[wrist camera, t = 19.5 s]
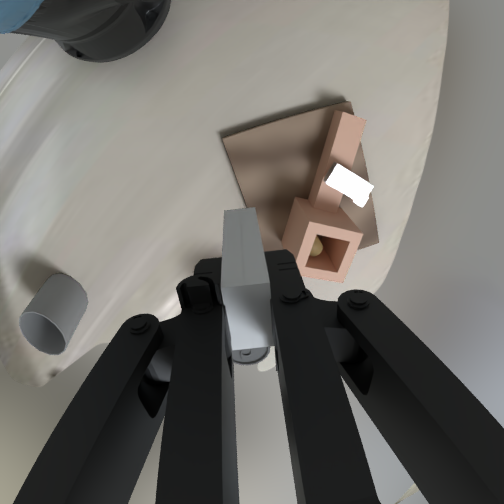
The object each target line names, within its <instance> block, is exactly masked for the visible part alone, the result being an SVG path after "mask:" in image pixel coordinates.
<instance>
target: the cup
mask: <svg viewBox="0 0 504 504" xmlns="http://www.w3.org/2000/svg"><path fill="white" fill-rule="evenodd" d="M87 305H88V299H87V294H86V292H85V290H84V289H83V287H82V286H81V284H80V283H79V282H77V281H76V280H75V279H73V278H72V277H71V276H68V275H64V274H53V275H52V276H51V277H50V278H48V279H47V281H46V282H45V283H44V284H43V286H42V287H41V288H40V290H39V291H38V292H37V294H36V295H35V296H34V298H33V299H32V301H31V302H30V303H29V305H28V306H27V307H26V309H25V310H24V312H23V313H22V315H21V316H20V319H19V327H20V329H21V332H22V334H23V336H24V337H25V338H26V339H27V341H28V342H29V343H30V344H31V345H32V346H34V347H35V348H36V349H38V350H39V351H41V352H44V353H46V354H49V355H60V354H61V353H63V352H64V351H65V350H66V348H67V346H68V344H69V342H70V340H71V338H72V336H73V334H74V332H75V330H76V328H77V326H78V324H79V322H80V320H81V318H82V316H83V314H84V312H85V311H86V308H87Z"/></svg>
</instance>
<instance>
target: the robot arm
mask: <svg viewBox="0 0 504 504" xmlns="http://www.w3.org/2000/svg"><path fill="white" fill-rule="evenodd" d="M170 3H171V0H0V33H1V34H5V33H16V34H24V35H30V36H37V37H43V38H49V39H54V40H55V41H56V42H57V43H58V44H59V45H60V47H61V48H62V49H63V50H64V51H65V52H66V53H68V54H69V55H71V56H73V57H75V58H77V59H80V60H84V61H90V62H109V61H114V60H117V59H121V58H123V57H126V56H128V55H130V54H132V53H133V52H135V51H137V50H138V49H140V48H141V47H142V46H144V45H145V44H146V43H147V42H148V41H149V40H150V39H152V37H153V36H154V35H155V34H156V33H157V32H158V30H159V29H160V27H161V26H162V24H163V23H164V21H165V19H166V17H167V14H168V11H169V8H170ZM176 290H177V294H178V297H179V301H180V305H181V308H182V311H181V314H180V315H178V316H176V317H174V318H171V319H168V320H165V321H162V322H159V320H158V318H156V317H155V316H154V315H151V314H139V315H136V316H133V317H131V318H129V319H128V320H126V321H125V322H124V323H123V324H122V326H121V327H120V329H119V330H118V332H117V333H116V334H115V336H114V337H113V339H112V340H111V342H110V343H109V345H108V346H107V348H106V349H105V351H104V352H103V354H102V355H101V357H100V358H99V360H98V361H97V363H96V364H95V366H94V367H93V369H92V370H91V372H90V373H89V375H88V376H87V378H86V379H85V381H84V382H83V384H82V386H81V387H80V389H79V391H78V392H77V393H76V395H75V397H74V398H73V400H72V401H71V403H70V404H69V406H68V408H67V409H66V411H65V413H64V414H63V416H62V418H61V419H60V421H59V423H58V424H57V426H56V427H55V429H54V431H53V432H52V434H51V436H50V438H49V439H48V441H47V443H46V444H45V446H44V448H43V450H42V451H41V453H40V455H39V456H38V458H37V460H36V462H35V464H34V465H33V467H32V469H31V471H30V473H29V474H28V476H27V478H26V480H25V482H24V484H23V486H22V487H21V489H20V491H19V493H18V495H17V497H16V499H15V501H14V503H13V504H128V502H129V500H130V497H131V495H132V492H133V490H134V487H135V485H136V482H137V480H138V478H139V475H140V473H141V470H142V468H143V466H144V463H145V461H146V458H147V456H148V454H149V451H150V449H151V446H152V444H153V442H154V439H155V437H156V435H157V432H158V430H159V427H160V425H161V423H162V420H163V418H164V416H165V418H164V426H163V435H162V442H161V452H160V461H159V470H158V480H157V491H156V502H155V504H239V488H238V470H237V469H238V468H237V446H236V424H235V397H234V396H235V395H234V365H233V357H232V352H231V346H232V350H241V349H251V348H260V347H269V346H275V359H276V371H278V377H279V383H280V389H281V396H282V403H283V410H284V416H285V423H286V429H287V436H288V442H289V449H290V455H291V463H292V469H293V476H294V483H295V489H296V496H297V504H381V503H380V501H379V499H378V497H377V493H376V490H375V486H374V483H373V479H372V476H371V472H370V469H369V465H368V462H367V458H366V456H365V452H364V449H363V445H362V442H361V438H360V435H359V432H358V429H357V425H356V422H355V419H354V416H353V413H352V410H351V406H350V404H349V400H348V397H347V394H346V391H345V388H344V385H343V382H342V379H341V376H342V378H343V379H344V381H345V382H346V384H347V385H348V387H349V388H350V389H351V391H352V392H353V394H354V395H355V397H356V398H357V399H358V401H359V403H360V404H361V405H362V407H363V408H364V410H365V411H366V413H367V414H368V416H369V417H370V418H371V420H372V421H373V423H374V424H375V425H376V427H377V429H378V430H379V431H380V433H381V434H382V436H383V437H384V439H385V440H386V442H387V443H388V445H389V446H390V447H391V449H392V450H393V452H394V453H395V455H396V456H397V458H398V459H399V461H400V462H401V463H402V465H403V466H404V468H405V469H406V470H407V472H408V474H409V475H410V476H411V478H412V479H413V481H414V482H415V484H416V485H417V487H418V488H419V490H420V491H421V493H422V494H423V495H424V497H425V498H426V500H427V501H428V503H429V504H504V428H503V427H502V426H501V425H500V424H499V423H498V422H497V420H496V419H495V418H494V417H493V416H492V415H491V414H490V413H489V411H488V410H487V409H486V408H485V407H484V406H483V405H482V404H481V403H480V401H479V400H478V399H477V398H476V397H475V396H474V395H473V394H472V393H471V392H470V391H469V390H468V389H467V387H466V386H465V385H464V384H463V383H462V382H461V381H460V380H459V379H458V378H457V377H456V376H455V375H454V374H453V373H452V372H451V371H450V369H449V368H448V367H447V366H446V365H445V364H444V363H443V362H442V361H441V360H440V359H439V358H438V357H437V356H436V355H435V354H434V353H433V352H432V351H431V350H430V349H429V348H428V347H427V346H426V345H425V344H424V343H423V342H422V341H421V340H420V339H419V338H418V337H417V336H416V335H415V334H414V333H413V332H412V331H411V330H410V329H409V328H408V327H407V326H406V325H405V324H404V323H403V322H402V321H401V320H400V319H399V318H398V317H397V316H396V315H395V314H394V313H393V312H392V311H391V310H389V308H387V307H386V306H385V305H384V304H383V303H382V302H381V301H380V300H379V299H378V298H377V297H376V296H375V295H373V294H372V293H370V292H367V291H364V290H349V291H346V292H344V293H342V294H341V295H340V296H339V298H338V302H336V301H325V300H320V299H317V298H315V297H313V295H312V293H311V292H310V291H309V290H308V289H306V288H305V285H304V283H303V280H302V277H301V274H300V271H299V269H298V266H297V263H296V260H295V257H294V255H293V254H292V253H291V252H290V251H288V250H287V249H283V250H274V251H265V252H264V250H263V245H262V240H261V235H260V230H259V225H258V220H257V215H256V210H255V207H252V208H243V209H234V210H226V211H224V225H223V246H222V257H220V258H211V259H202V260H200V261H199V263H198V264H197V265H196V266H195V270H194V275H193V276H190V277H188V278H186V279H184V280H182V281H181V282H180V283H179V284H178V285H177V287H176Z"/></svg>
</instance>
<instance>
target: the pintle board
mask: <svg viewBox="0 0 504 504" xmlns="http://www.w3.org/2000/svg"><path fill="white" fill-rule="evenodd" d="M335 110H337V111H342V112H345V113H348V114H351V115H354V112H353V109H352V105H351V102H348V101H346V102H342V103H337V104H333V105H329V106H325V107H321V108H317V109H314V110H310V111H306V112H303V113H299V114H295V115H292V116H288V117H285V118H282V119H278V120H275V121H272V122H268V123H265V124H262V125H259V126H256V127H253V128H249V129H246V130H243V131H240V132H237V133H235V134H232V135H229V136H226V137H223V139H222V140H223V142H224V145H225V148H226V150H227V153H228V156H229V159H230V161H231V164H232V167H233V169H234V172H235V175H236V178H237V180H238V183H239V186H240V189H241V191H242V194H243V197H244V200H245V202H246V205H247V208H252V207H255V210H256V215H257V220H258V225H259V230H260V235H261V240H262V245H263V250H264V252H265V251H274V250H283V246H282V243H281V241H282V238H283V235H284V231H285V228H286V225H287V222H288V218H289V215H290V212H291V209H292V205H293V202H294V199H295V197H299V198H303V199H307V200H308V198H309V194H310V191H311V188H312V185H313V182H314V178H315V175H316V172H317V169H318V165H319V162H320V159H321V155H322V152H323V149H324V145H325V142H326V139H327V135H328V132H329V128H330V125H331V121H332V118H333V114H334V111H335ZM351 172H353V173H354V174H356V175H357V176H359V177H361V178H362V179H364V180H365V181H367V182H368V183H369V178H368V173H367V168H366V164H365V159H364V154H363V150H362V145H361V141H360V143H359V147H358V150H357V153H356V156H355V159H354V163H353V166H352V169H351ZM368 197H369V198H368V199H367V201H366V203H365V204H364V206H363V207H361V206H359V205H357V204H356V203H354V202H353V201H352V200H351V199H350V198H349V197H348V196H347V195H346V194H344V193H343V196H342V199H341V202H340V204H339V208H342V209H343V211H344V212H345V213H346V214H347V215H348V216H349V218H350V219H351V220H352V221H353V222H354V223H355V225H356V226H357V227H358V228H359V229H360V231H361V232H362V233H363V236H362V239H361V241H360V244H359V246H358V249H357V250H359V249H362V248H365V247H368V246H371V245H374V244H377V243H379V238H378V231H377V225H376V218H375V212H374V206H373V200H372V194H371V191H370V193H369V195H368ZM321 239H322V235H318V234H317V235H316V238H315V240H314V243H313V246H312V249H311V252H310V254H309V255H310V256H317V255H319V254H320V253H321V251H322V249H323V246H322V243H321V242H320V241H321Z"/></svg>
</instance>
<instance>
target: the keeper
mask: <svg viewBox="0 0 504 504" xmlns="http://www.w3.org/2000/svg"><path fill="white" fill-rule="evenodd" d="M323 181H324V182H325V183H327V184H328V185H330V186H332V187H334V188H335V189H337V190H339V191H340V192H342V193H344V194H346V195H347V196H348V197H349V198H350V199H351V200H352V201H353V202H354V203H356V204H357V205H359V206H361V207H363V206H364V204H365V203H366V201H367V199H368V198H369V197H368V195H369V193H370V191H371V190H372V188H373V187H374V186H373V185H371V184H370V183H368V182H367V181H365V180H364V179H362V178H361V177H359V176H357V175H356V174H354V173H353V172H351V171H349V170H348V169H346V168H345V167H343V166H341V165H340V164H338V163H336V162H335V161H334V162H333V164H332V166H331V167H330V169H329V171H328V172H327V174H326V176H325V177H324V179H323Z"/></svg>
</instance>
